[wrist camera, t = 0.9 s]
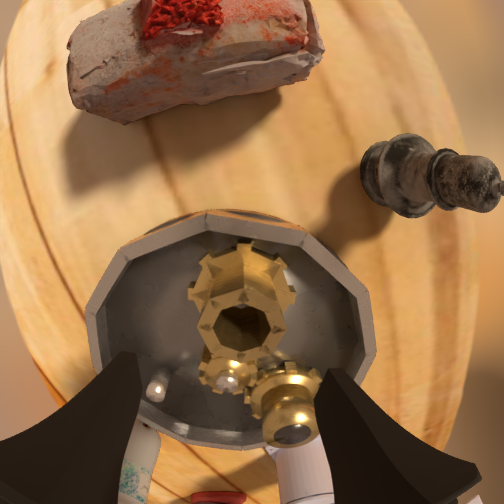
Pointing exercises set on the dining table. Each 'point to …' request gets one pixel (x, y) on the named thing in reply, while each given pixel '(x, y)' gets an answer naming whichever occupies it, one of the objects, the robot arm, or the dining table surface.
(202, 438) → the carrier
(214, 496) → the stacking bear
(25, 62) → the dining table surface
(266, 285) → the planet gear
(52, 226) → the dining table surface
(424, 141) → the grey chess piece
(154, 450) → the bottle
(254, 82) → the food item
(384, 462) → the robot arm
